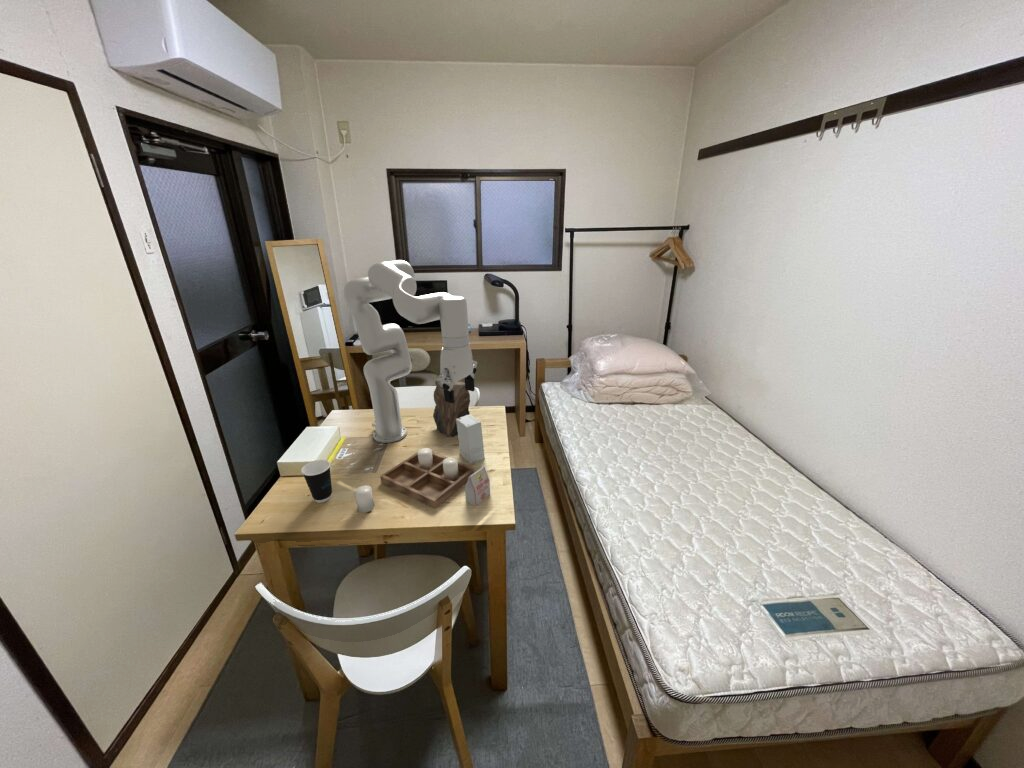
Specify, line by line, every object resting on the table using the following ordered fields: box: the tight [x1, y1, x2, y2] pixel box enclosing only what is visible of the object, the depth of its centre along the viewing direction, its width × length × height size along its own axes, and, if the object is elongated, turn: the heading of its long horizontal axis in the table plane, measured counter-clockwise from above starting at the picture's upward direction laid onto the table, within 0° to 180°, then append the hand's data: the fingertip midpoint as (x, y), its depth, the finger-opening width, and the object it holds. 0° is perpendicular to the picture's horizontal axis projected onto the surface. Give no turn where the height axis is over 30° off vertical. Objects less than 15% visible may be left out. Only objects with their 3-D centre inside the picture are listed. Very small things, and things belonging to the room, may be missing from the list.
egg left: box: [417, 447, 433, 471], centre depth 135 cm, size 5×5×6 cm
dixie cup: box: [300, 459, 333, 503], centre depth 122 cm, size 8×8×11 cm
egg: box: [354, 485, 375, 513], centre depth 118 cm, size 5×5×6 cm
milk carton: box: [464, 465, 491, 507], centre depth 120 cm, size 4×7×10 cm, turn 143°
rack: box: [379, 451, 477, 510], centre depth 130 cm, size 23×19×4 cm
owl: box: [432, 380, 471, 438], centre depth 159 cm, size 13×13×20 cm
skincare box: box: [456, 413, 486, 464], centre depth 140 cm, size 8×6×15 cm
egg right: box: [443, 456, 459, 481], centre depth 130 cm, size 5×5×6 cm
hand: (460, 396), depth 122 cm, fingers open, 9 cm apart
